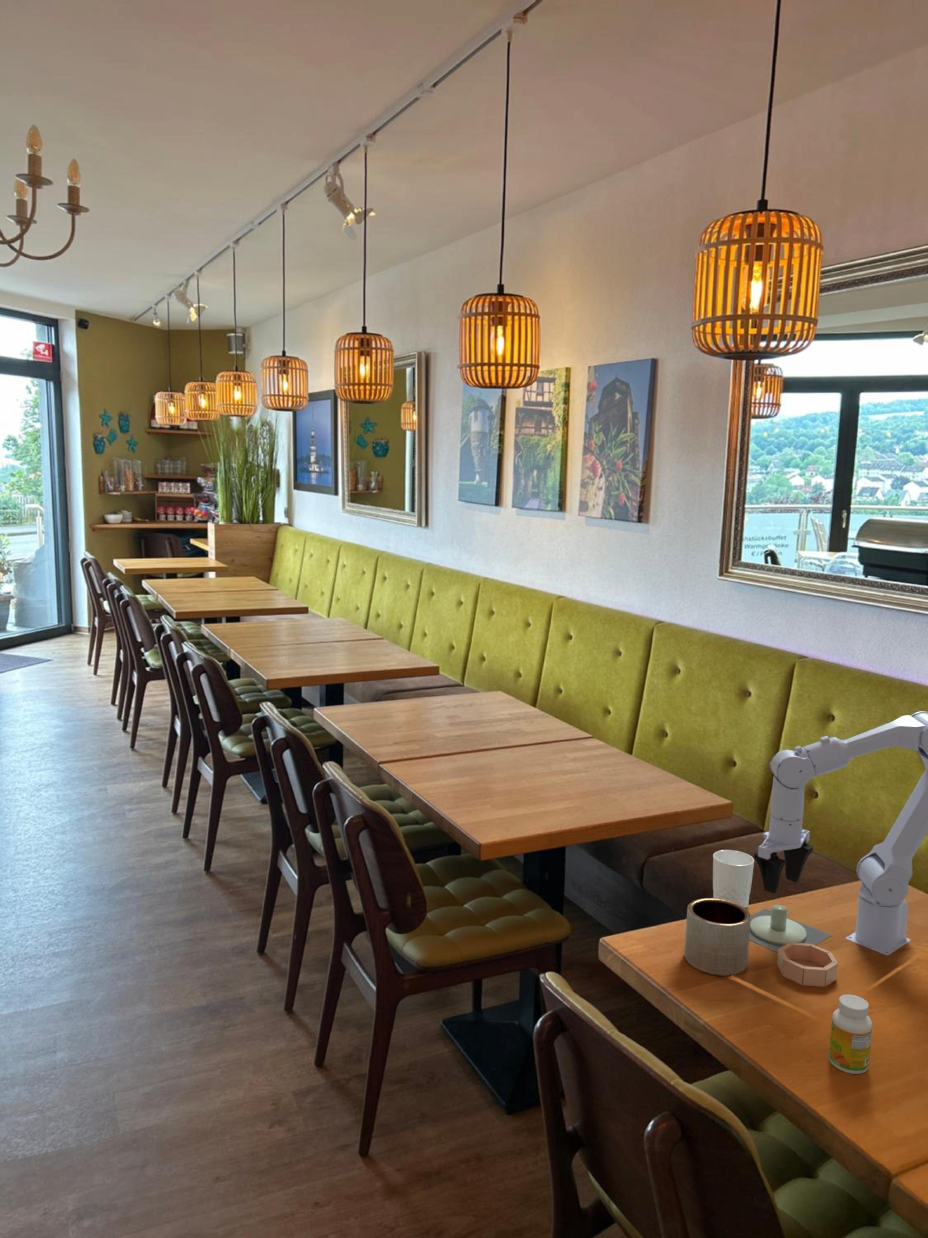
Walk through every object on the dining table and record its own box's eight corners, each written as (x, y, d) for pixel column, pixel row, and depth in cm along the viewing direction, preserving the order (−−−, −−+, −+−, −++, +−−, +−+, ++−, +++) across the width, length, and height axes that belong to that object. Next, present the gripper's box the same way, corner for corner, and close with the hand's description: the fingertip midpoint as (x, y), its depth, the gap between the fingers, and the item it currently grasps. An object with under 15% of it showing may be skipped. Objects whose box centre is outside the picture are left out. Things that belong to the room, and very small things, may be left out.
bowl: (796, 956, 163) (797, 938, 162) (844, 977, 156) (845, 958, 155) (768, 972, 157) (769, 953, 156) (816, 995, 150) (818, 975, 150)
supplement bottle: (821, 1053, 134) (826, 992, 133) (856, 1052, 135) (861, 991, 134) (839, 1076, 129) (845, 1013, 128) (875, 1075, 130) (881, 1011, 128)
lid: (768, 914, 177) (770, 891, 177) (816, 934, 170) (818, 910, 169) (739, 930, 171) (741, 906, 170) (787, 951, 163) (789, 926, 163)
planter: (724, 943, 167) (727, 894, 166) (760, 973, 157) (764, 921, 155) (672, 951, 164) (675, 901, 162) (706, 982, 153) (709, 929, 152)
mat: (765, 911, 180) (765, 908, 180) (831, 938, 170) (831, 935, 169) (723, 931, 171) (724, 928, 171) (791, 962, 161) (791, 958, 161)
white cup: (752, 915, 178) (756, 867, 177) (711, 911, 180) (714, 863, 178) (748, 898, 186) (751, 852, 185) (709, 894, 188) (712, 848, 186)
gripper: (787, 802, 175) (782, 869, 177) (745, 818, 165) (740, 888, 167) (822, 812, 169) (816, 881, 171) (780, 829, 160) (775, 902, 162)
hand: (781, 885), depth 169 cm, fingers open, 7 cm apart
